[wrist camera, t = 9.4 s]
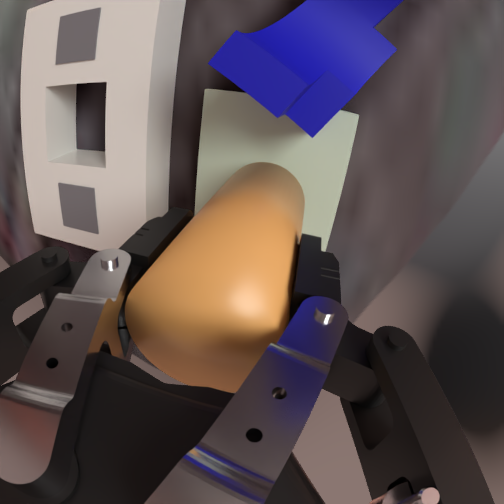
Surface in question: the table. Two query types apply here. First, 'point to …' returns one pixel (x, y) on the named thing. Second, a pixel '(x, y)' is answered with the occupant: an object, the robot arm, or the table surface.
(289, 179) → the plug
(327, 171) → the mat
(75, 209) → the white slab with hole
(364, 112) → the table surface
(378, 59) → the cable clip
